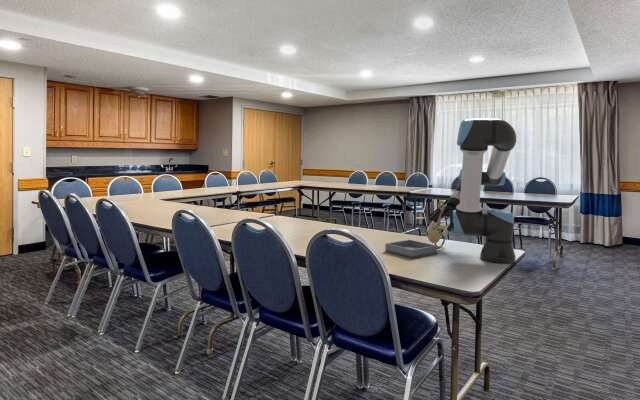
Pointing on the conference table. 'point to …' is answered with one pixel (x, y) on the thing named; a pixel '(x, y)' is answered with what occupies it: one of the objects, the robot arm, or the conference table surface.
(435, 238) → the wall sconce
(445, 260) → the conference table surface
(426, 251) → the tray
